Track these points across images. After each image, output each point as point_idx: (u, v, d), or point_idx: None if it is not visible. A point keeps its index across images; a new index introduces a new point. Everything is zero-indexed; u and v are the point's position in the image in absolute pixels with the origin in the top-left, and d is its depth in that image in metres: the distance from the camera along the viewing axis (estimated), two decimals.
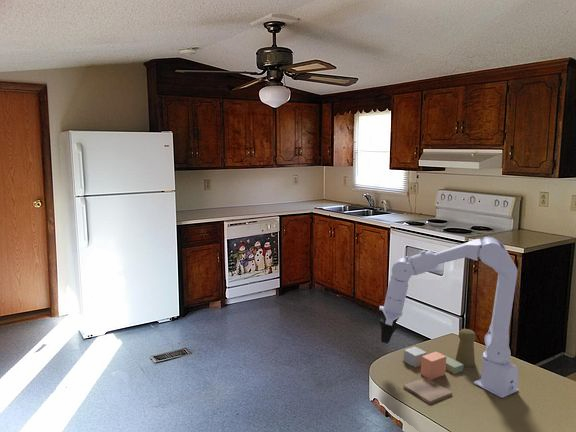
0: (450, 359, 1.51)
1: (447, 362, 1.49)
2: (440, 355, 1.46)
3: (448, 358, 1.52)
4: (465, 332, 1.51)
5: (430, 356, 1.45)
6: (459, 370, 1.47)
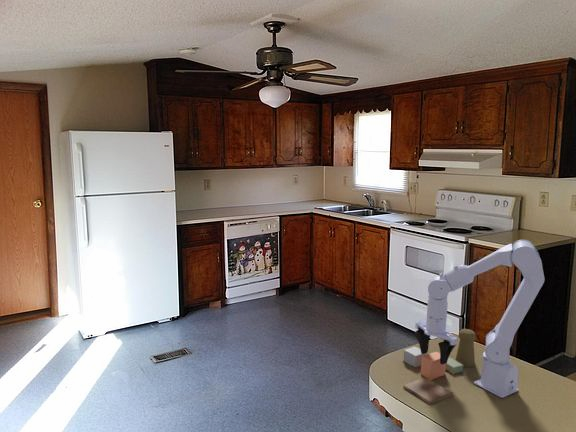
0: (451, 359, 1.51)
1: (447, 362, 1.49)
2: None
3: (448, 358, 1.52)
4: (465, 332, 1.51)
5: (430, 356, 1.45)
6: (458, 370, 1.47)
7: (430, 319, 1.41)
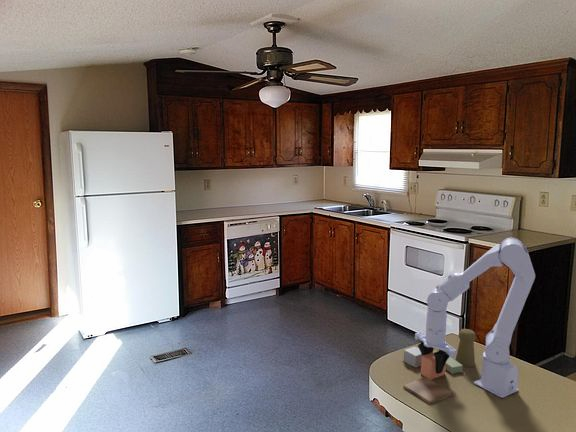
0: (451, 359, 1.51)
1: (447, 362, 1.50)
2: None
3: (449, 358, 1.52)
4: (465, 332, 1.51)
5: (430, 356, 1.45)
6: (458, 371, 1.47)
7: (429, 331, 1.42)
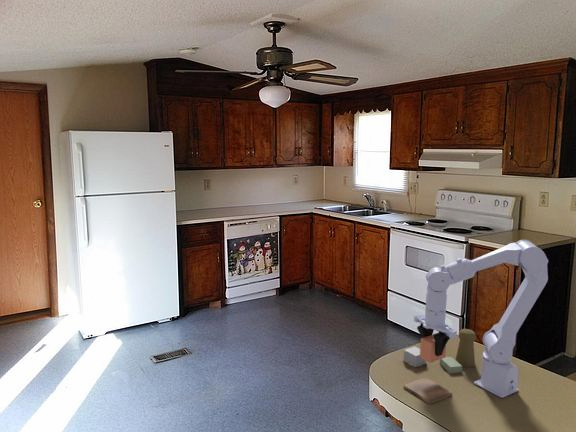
0: (452, 359, 1.51)
1: (446, 361, 1.50)
2: None
3: (450, 358, 1.52)
4: (465, 332, 1.51)
5: (430, 338, 1.40)
6: (456, 371, 1.47)
7: (429, 312, 1.37)
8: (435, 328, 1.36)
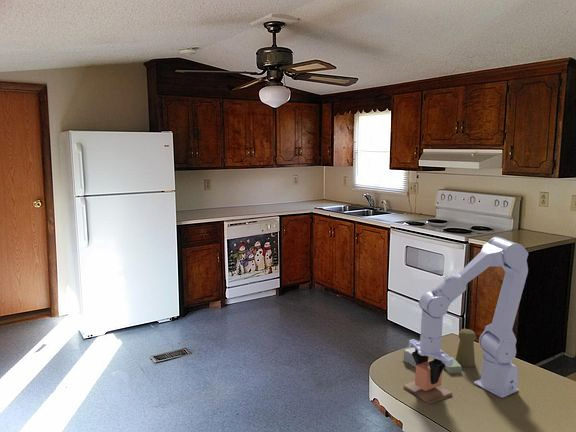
0: None
1: None
2: None
3: None
4: (465, 332, 1.51)
5: (425, 365, 1.35)
6: (456, 371, 1.47)
7: (424, 338, 1.32)
8: (430, 355, 1.31)
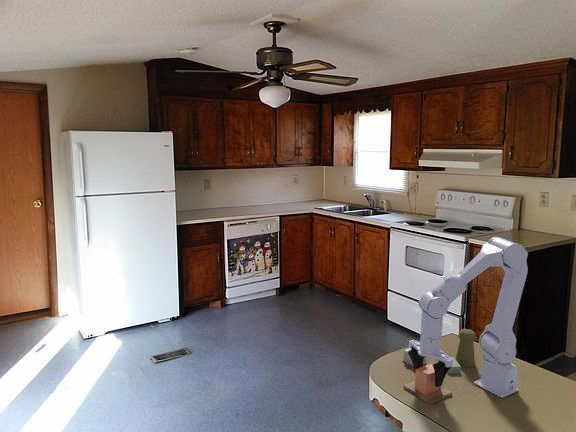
0: (453, 360, 1.51)
1: None
2: None
3: (451, 358, 1.52)
4: (465, 332, 1.51)
5: (425, 369, 1.35)
6: (455, 371, 1.47)
7: (424, 339, 1.32)
8: (430, 356, 1.31)
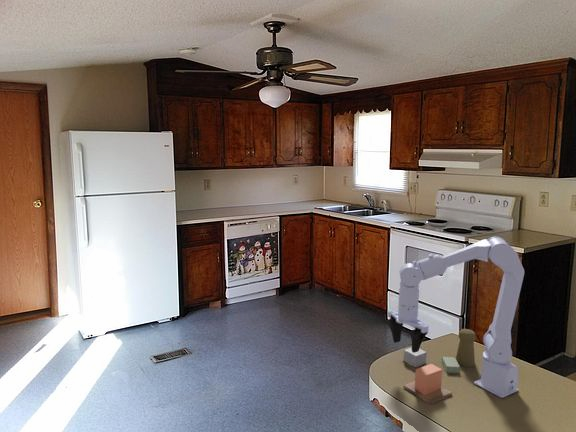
0: (453, 360, 1.51)
1: (446, 361, 1.50)
2: (435, 368, 1.36)
3: (452, 359, 1.52)
4: (465, 332, 1.51)
5: (425, 369, 1.35)
6: (454, 371, 1.47)
7: (401, 307, 1.39)
8: (408, 323, 1.38)
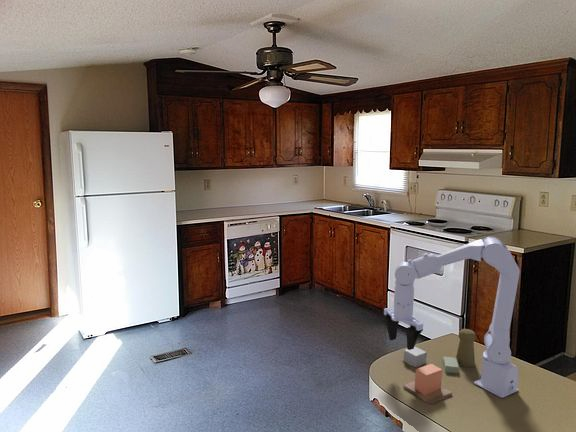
0: (454, 360, 1.51)
1: (446, 361, 1.50)
2: (435, 368, 1.36)
3: (452, 359, 1.51)
4: (465, 332, 1.51)
5: (425, 369, 1.35)
6: (452, 371, 1.47)
7: (397, 305, 1.41)
8: (403, 320, 1.40)
